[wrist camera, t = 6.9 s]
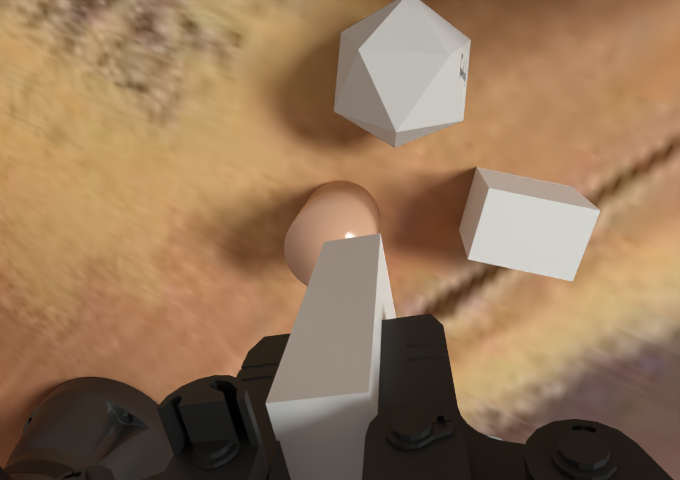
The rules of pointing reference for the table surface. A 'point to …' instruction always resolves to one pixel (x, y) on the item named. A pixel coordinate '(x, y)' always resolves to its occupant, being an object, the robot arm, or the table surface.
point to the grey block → (526, 224)
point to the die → (402, 73)
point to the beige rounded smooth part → (328, 223)
